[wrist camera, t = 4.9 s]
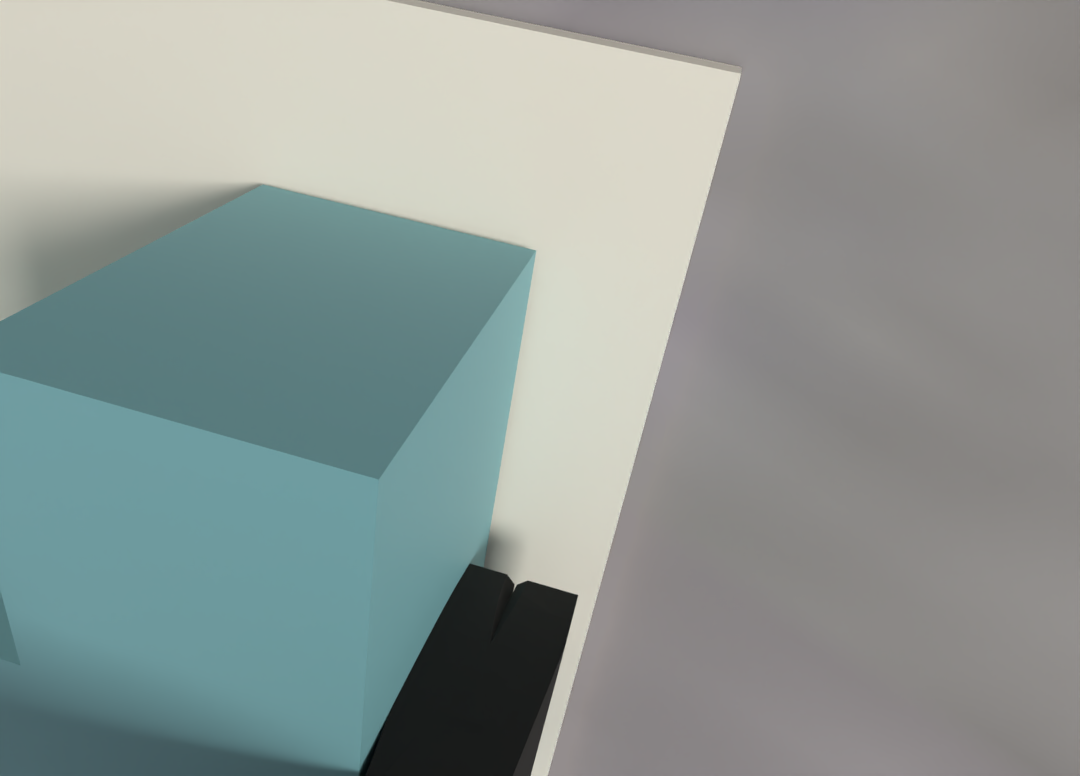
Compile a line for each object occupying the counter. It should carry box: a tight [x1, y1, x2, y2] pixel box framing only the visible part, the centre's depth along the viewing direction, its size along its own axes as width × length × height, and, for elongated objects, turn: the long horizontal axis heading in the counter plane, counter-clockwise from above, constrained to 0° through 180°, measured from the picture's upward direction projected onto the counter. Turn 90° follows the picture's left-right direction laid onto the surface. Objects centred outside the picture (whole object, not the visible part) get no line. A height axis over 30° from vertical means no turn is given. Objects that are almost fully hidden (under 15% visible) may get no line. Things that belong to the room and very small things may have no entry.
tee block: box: [0, 184, 536, 776], centre depth 9 cm, size 9×9×4 cm
